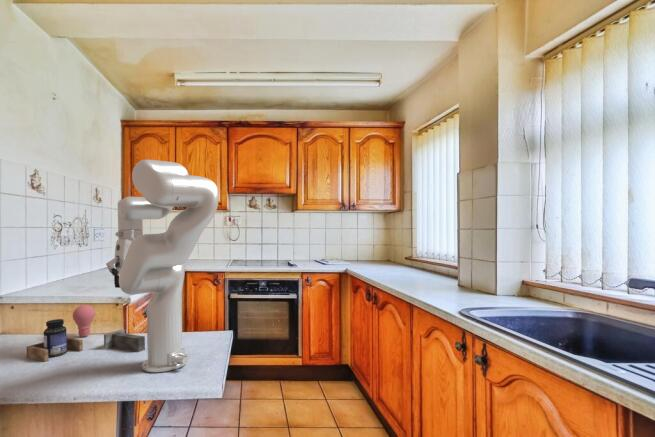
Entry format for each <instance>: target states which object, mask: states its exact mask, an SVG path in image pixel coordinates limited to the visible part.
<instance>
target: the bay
mask: <svg viewBox="0 0 655 437" xmlns="http://www.w3.org/2000/svg"><path fill="white" fill-rule="evenodd" d="M83 346H84V341H83V339H80V338H74V337H69V336H67V350H72V351H76V352H83V351H84V350H83ZM26 359H32V360H34V361H35V360H36V361H38V362H44V363H46V362H49V357H48V349H44V341H42V342H39V343H35V344H32V345H28V346H26Z"/></svg>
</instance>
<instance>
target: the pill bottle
mask: <svg viewBox="0 0 655 437" xmlns="http://www.w3.org/2000/svg"><path fill="white" fill-rule="evenodd" d="M64 322H65V320H64V319H63V318H56V319H51V320H47V321H46V322H45V326H46V328H45V329H44V331H43V342H44V349H48V358H54V357H60V356H63V355H65V354H66V353H67V352H68V349H67V337H68V336H67V327H66V326H64Z"/></svg>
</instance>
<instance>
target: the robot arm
mask: <svg viewBox="0 0 655 437" xmlns="http://www.w3.org/2000/svg"><path fill="white" fill-rule="evenodd" d="M131 179H132V184H133V185H134V187H135V189H136V190H137V191H138V192H139V193H140V194H141V195H142V196H126V197H124V198H122V199H120V200H119V201H117V232H115V234H114V235H115V236H116V237H117V239H116V242H115V248H114V258H112V259H111V260H109V261H108V262H106V263H105V264H106V267H107V269H108V271H109V273H111V275H112V276H113V277H114V280H113V281H114V287H115V288H117V289H118V288H119V289H120V290H121V291H122V292H123V293H124V294H125V295H126V294H127V295H132V296H133V295H142V294H147V293H149V294H150V293H153V294H152V295H151V297H150V299H149V301H148V303H147V307H146V330H147V332H146V334H147V336H146V337H147V338H146V340H147V344H146V345H147V359H146V360H144V361H143V362H142V364H141V369H142V370H143V371H145V372H147V373H162V372H163V373H164V372H170V371H173V370H177V369H180V368H183V367H184V366H185V365H187V364H188V362H189V360H190V359H191V354H186V352H185V350H186V349H185V348H184V347H183V318H182V317H183V316H182V315H183V314H182V313H183V312H182V310H183V309H182V306H183V304H182V302H183V301H182V300H183V298H182V297H183V287H184V281H185V276H186V275H185V266H184V264H185V263H187V262H188V260H189V259H190V256H191V255H192V253H193V251H194V249H195V247H196V245H197V243H198V241H199V239H200V237H201V235H202V233H203V232H204V230H205V229H206V228H207V227H208V226H209V224H210V223H211V222H212V220H213V219H214V217H215V215H216V212H217V210H218V206H219V199H220V197H219V196H220V193H219V188H218V186H217V184H216V183H215V182H214V181H213V180H211V179H209V178H207V177H204V176H199V175H192V174H191V175H190V174H189V171H188V170H187V168H186V167H185V166H184V165H182V164H180V163H178V162H175V161H165V160H158V159H157V160H156V159H141V160H139V161H138V162H137V163H136V164H135V165H134V167H133V169H132V174H131ZM175 207H177V208H178V207H179V208H180V207H181V208H185V209H184V210H182V211H181V212H179V213H178V214H177V215H176V216H174V217H173V218H172V220H171V221H170V222H169V225H168V227H167V229H166V230H165V232H160V233H147V234H143V233H144V232H143V231H144V230H143V228H144V227H143V226H144V225H143V220H160V219H161V220H162V219H163V218H165V217H167V216H168V215H169V214H171V212H172V210H173V208H175Z"/></svg>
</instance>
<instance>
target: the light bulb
mask: <svg viewBox="0 0 655 437" xmlns="http://www.w3.org/2000/svg"><path fill="white" fill-rule="evenodd" d="M95 316H96V310H95V309H94V307H93V306H92V305H89V304H82V305H79V306H77V307H76V308H75V309H74V310H73V312H72V319H73V321H74V323H75V325H77V329H78V337H82V338H85V337H87V336H90V334H91V329H90V328H92V327H91V324H92V322H93V321H94V319H95Z"/></svg>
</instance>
